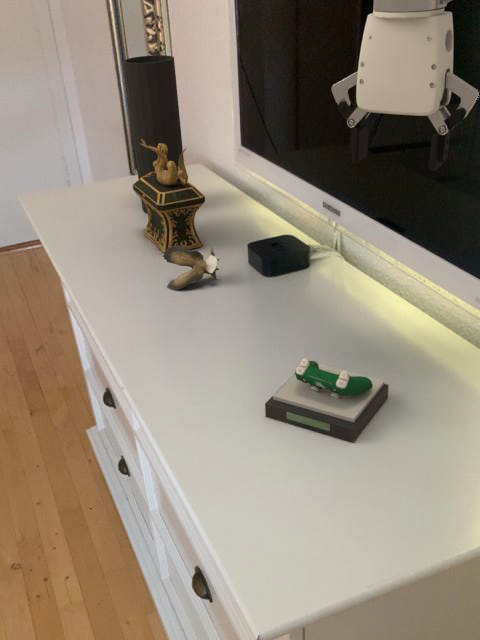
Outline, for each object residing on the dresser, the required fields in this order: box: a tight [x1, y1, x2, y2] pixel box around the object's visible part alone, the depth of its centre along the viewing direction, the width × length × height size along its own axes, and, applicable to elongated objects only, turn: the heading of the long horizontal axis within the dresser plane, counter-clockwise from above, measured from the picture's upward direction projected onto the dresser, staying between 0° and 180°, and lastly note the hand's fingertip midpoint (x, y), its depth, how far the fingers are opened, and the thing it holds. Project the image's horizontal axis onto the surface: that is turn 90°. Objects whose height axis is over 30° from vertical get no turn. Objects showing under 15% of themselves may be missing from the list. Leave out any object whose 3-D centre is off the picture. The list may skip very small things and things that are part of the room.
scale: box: [264, 363, 390, 443], centre depth 89 cm, size 12×11×3 cm
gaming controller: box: [294, 357, 373, 398], centre depth 87 cm, size 9×4×6 cm
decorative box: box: [132, 139, 206, 254], centre depth 134 cm, size 20×10×20 cm, turn 25°
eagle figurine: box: [162, 245, 220, 291], centre depth 122 cm, size 8×7×9 cm
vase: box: [122, 54, 185, 214], centre depth 149 cm, size 10×10×30 cm
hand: (396, 163), depth 85 cm, fingers open, 9 cm apart
